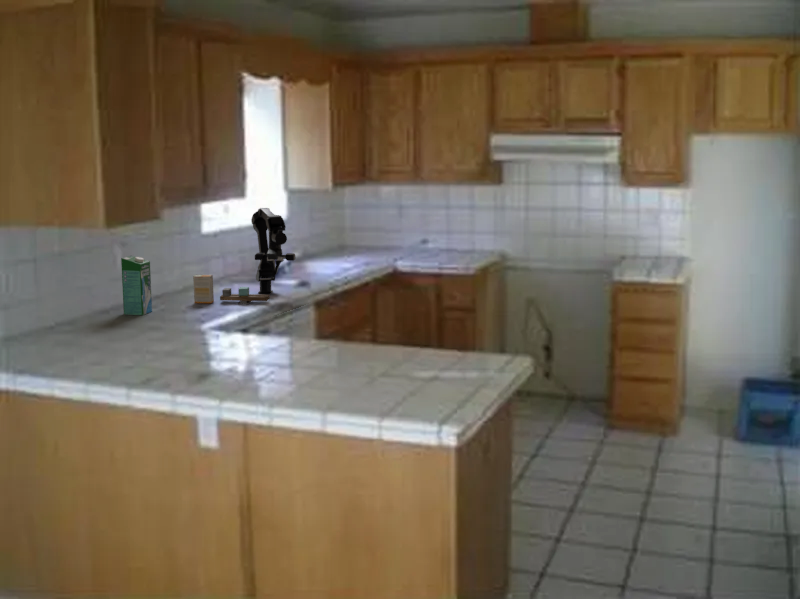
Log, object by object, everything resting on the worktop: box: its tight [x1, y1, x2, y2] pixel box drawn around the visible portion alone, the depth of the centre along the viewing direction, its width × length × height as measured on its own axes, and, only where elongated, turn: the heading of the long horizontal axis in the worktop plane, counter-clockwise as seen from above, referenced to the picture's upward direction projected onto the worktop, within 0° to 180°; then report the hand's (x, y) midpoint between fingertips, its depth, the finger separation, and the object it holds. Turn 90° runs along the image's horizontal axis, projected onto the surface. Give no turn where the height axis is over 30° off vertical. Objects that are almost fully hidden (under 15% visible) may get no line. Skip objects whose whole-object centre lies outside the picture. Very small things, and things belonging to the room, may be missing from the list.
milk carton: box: [120, 255, 153, 316], centre depth 405 cm, size 9×9×25 cm
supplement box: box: [192, 274, 215, 305], centre depth 431 cm, size 8×5×13 cm, turn 84°
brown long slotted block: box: [219, 287, 270, 305], centre depth 433 cm, size 9×22×6 cm, turn 88°
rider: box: [238, 286, 250, 296], centre depth 432 cm, size 5×4×5 cm
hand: (275, 274), depth 440 cm, fingers closed
